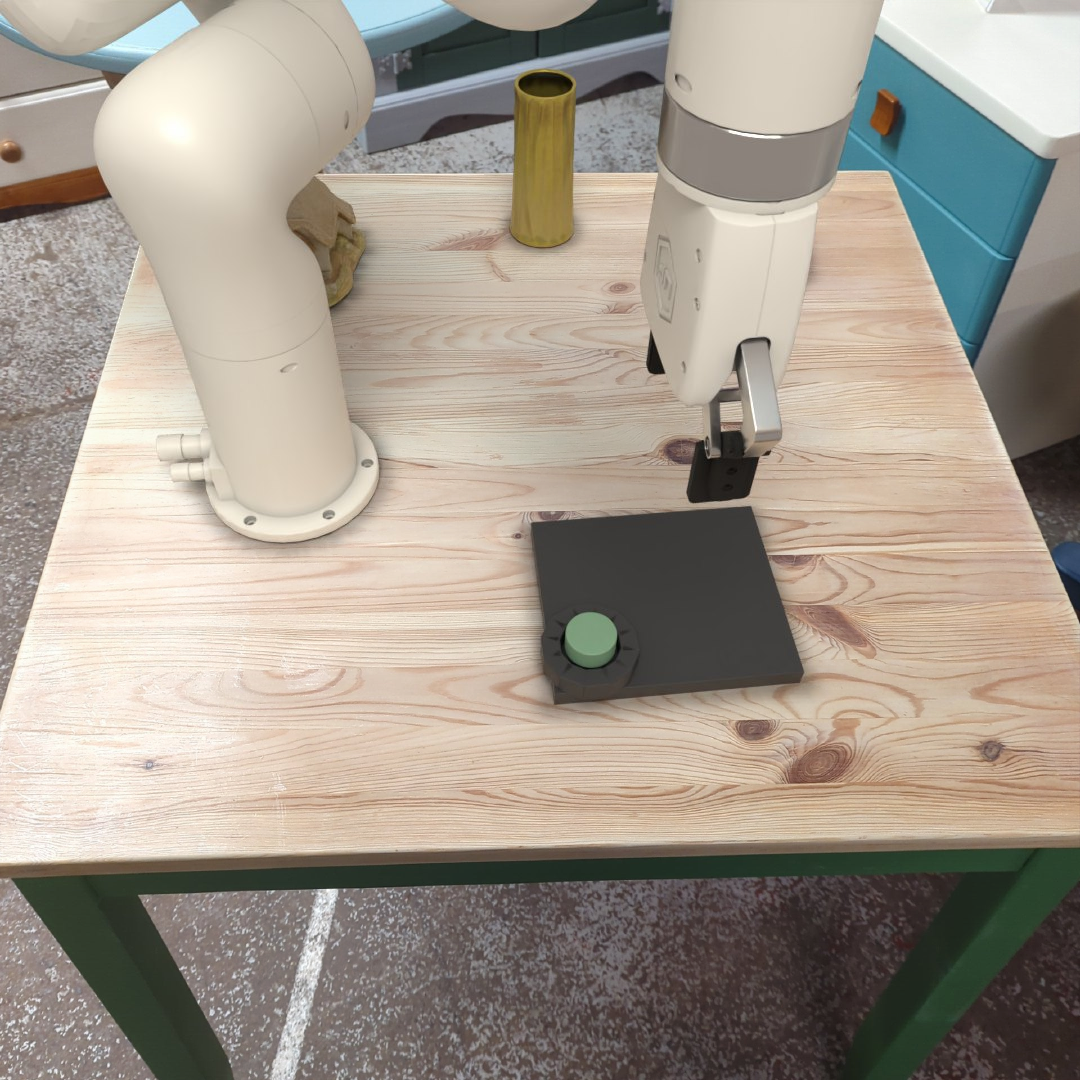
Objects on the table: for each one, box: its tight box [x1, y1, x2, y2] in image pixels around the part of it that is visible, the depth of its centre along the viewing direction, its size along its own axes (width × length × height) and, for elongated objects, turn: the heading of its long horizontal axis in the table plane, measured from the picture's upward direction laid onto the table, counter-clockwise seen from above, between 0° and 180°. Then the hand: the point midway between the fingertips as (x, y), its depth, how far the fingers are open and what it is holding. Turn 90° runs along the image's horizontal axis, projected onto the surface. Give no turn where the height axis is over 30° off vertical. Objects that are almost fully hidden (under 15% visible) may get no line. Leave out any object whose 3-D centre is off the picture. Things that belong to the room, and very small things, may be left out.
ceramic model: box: [286, 175, 367, 308], centre depth 87 cm, size 14×11×10 cm
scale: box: [530, 505, 805, 706], centre depth 67 cm, size 17×15×3 cm
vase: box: [509, 68, 577, 248], centre depth 90 cm, size 6×6×14 cm
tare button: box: [565, 612, 617, 668], centre depth 62 cm, size 3×3×2 cm
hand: (694, 429), depth 54 cm, fingers open, 9 cm apart
